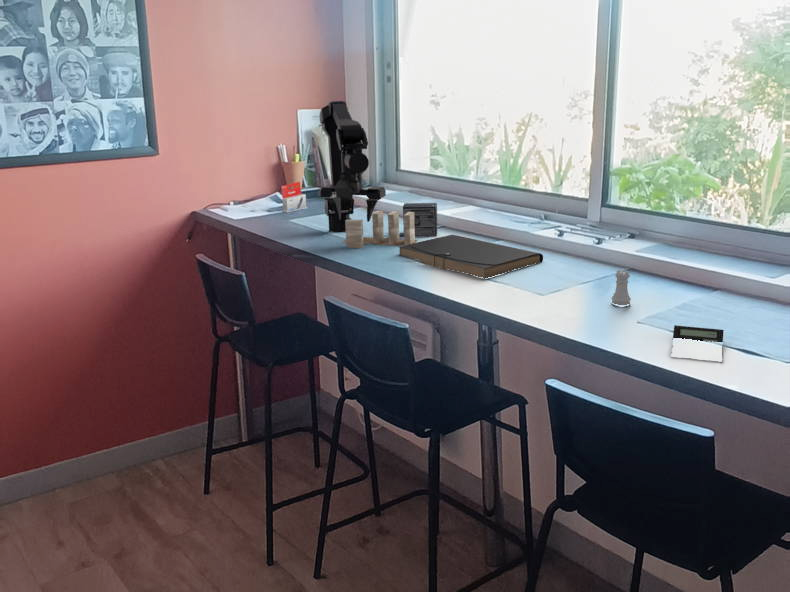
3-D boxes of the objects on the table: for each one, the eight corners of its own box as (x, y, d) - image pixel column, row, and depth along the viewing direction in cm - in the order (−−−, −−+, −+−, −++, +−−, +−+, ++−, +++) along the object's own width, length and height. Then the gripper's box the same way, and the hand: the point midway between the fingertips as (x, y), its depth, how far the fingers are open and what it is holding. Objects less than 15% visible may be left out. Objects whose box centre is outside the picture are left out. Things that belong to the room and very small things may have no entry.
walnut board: (342, 245, 249) (341, 242, 249) (351, 239, 257) (351, 236, 256) (410, 248, 243) (410, 246, 242) (418, 242, 250) (418, 239, 250)
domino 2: (373, 242, 248) (372, 213, 245) (378, 239, 252) (377, 210, 249) (378, 243, 247) (377, 214, 244) (383, 239, 251) (383, 210, 249)
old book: (398, 245, 232) (456, 232, 247) (398, 259, 233) (456, 245, 248) (484, 267, 208) (543, 250, 224) (484, 282, 210) (542, 265, 225)
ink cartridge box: (306, 207, 308) (305, 181, 305) (287, 213, 299) (285, 186, 296) (301, 207, 309) (300, 181, 306) (282, 212, 300) (280, 186, 297)
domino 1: (361, 250, 242) (360, 221, 239) (346, 250, 243) (345, 220, 241) (363, 249, 244) (362, 219, 241) (348, 248, 245) (347, 219, 242)
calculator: (670, 358, 157) (671, 344, 156) (673, 338, 167) (674, 324, 166) (722, 364, 154) (723, 349, 153) (722, 343, 164) (723, 329, 163)
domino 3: (388, 243, 246) (387, 214, 243) (393, 239, 250) (392, 211, 248) (394, 244, 246) (393, 214, 243) (399, 240, 250) (398, 211, 247)
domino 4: (404, 244, 245) (403, 215, 242) (409, 240, 249) (408, 211, 246) (410, 244, 244) (409, 215, 241) (414, 241, 248) (414, 212, 246)
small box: (438, 234, 260) (437, 202, 256) (437, 239, 253) (436, 206, 250) (405, 234, 261) (404, 202, 258) (403, 239, 254) (402, 206, 251)
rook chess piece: (627, 308, 185) (629, 275, 182) (608, 306, 187) (610, 272, 185) (633, 303, 188) (635, 270, 186) (614, 300, 191) (616, 267, 188)
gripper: (311, 171, 232) (314, 225, 236) (372, 173, 226) (374, 228, 231) (326, 165, 242) (328, 217, 246) (385, 167, 236) (387, 219, 241)
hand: (353, 220), depth 241 cm, fingers open, 9 cm apart
